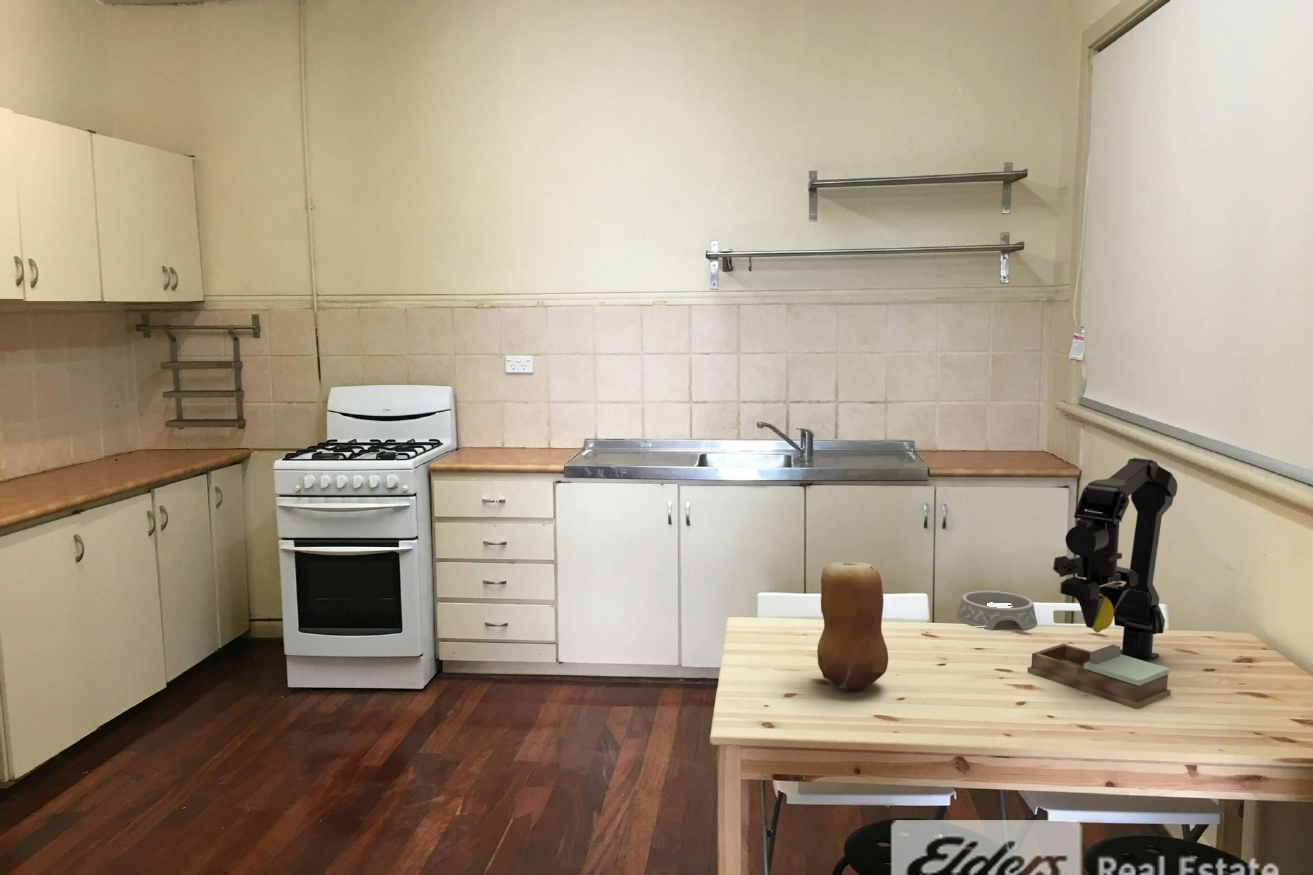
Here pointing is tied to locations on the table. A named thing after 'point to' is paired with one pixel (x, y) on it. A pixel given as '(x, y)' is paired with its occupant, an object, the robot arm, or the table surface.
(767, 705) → the table surface
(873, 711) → the table surface
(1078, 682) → the wooden box
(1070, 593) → the robot arm
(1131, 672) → the slide cover
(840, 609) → the butternut squash
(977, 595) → the dog bowl
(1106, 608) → the lemon
